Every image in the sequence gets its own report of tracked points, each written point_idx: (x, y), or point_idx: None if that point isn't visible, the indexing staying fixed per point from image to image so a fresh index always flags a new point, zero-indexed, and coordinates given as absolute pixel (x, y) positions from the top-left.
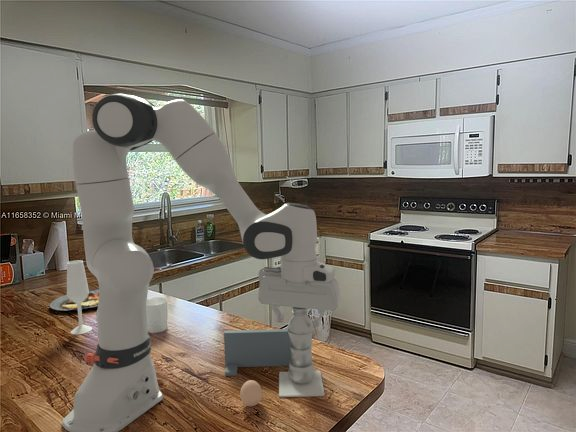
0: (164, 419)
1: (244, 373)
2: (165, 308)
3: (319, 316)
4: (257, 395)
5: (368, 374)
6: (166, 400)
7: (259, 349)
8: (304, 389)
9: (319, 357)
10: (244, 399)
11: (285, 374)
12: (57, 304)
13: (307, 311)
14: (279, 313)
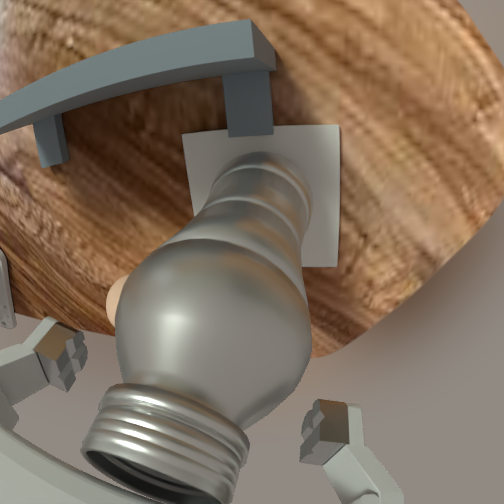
0: (39, 305)
1: (84, 145)
2: None
3: (339, 493)
4: None
5: (491, 159)
6: (11, 259)
7: (76, 103)
8: None
9: (338, 12)
10: None
11: (205, 150)
12: None
13: (245, 462)
14: (35, 373)
